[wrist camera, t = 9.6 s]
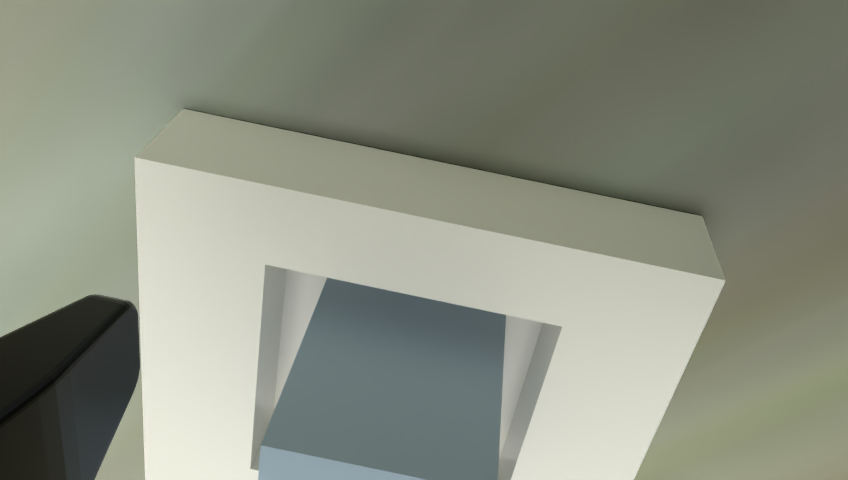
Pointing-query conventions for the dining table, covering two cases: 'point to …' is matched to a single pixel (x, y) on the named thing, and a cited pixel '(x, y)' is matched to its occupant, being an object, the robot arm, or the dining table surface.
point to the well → (403, 291)
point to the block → (389, 391)
